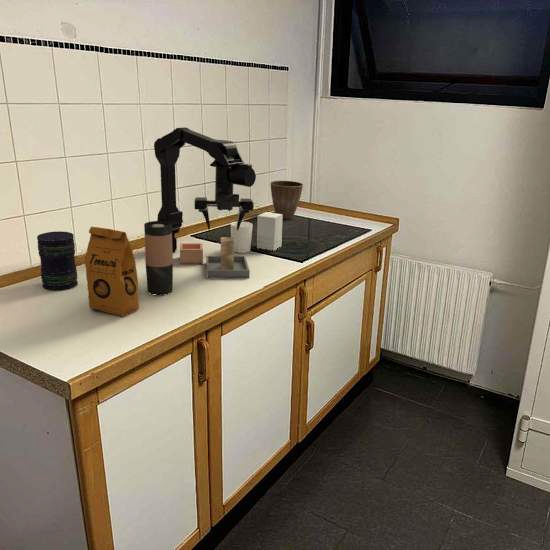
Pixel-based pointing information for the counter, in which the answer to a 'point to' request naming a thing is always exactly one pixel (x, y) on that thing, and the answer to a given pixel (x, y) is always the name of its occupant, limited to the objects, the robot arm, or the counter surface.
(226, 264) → the wooden peg
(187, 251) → the pink open box
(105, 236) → the coffee package
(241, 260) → the charcoal tray
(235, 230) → the white cup
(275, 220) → the supplement box
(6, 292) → the counter surface
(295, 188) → the plant pot
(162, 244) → the travel mug
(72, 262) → the storage jar
